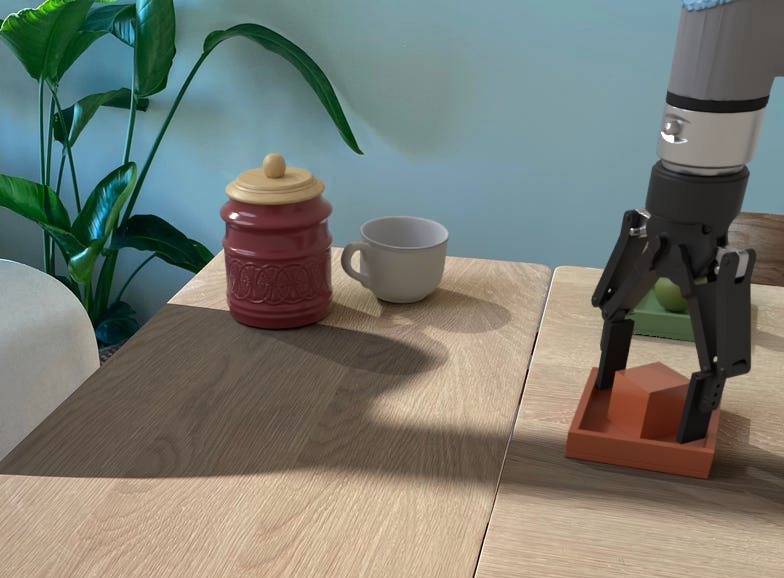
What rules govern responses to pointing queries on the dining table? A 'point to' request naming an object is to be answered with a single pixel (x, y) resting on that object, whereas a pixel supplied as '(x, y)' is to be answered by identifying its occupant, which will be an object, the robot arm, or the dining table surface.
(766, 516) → the dining table surface
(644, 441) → the terracotta tray
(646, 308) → the green tray
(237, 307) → the kitchen canister
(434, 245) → the teacup
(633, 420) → the block
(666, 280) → the pear
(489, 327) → the dining table surface
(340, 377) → the dining table surface
